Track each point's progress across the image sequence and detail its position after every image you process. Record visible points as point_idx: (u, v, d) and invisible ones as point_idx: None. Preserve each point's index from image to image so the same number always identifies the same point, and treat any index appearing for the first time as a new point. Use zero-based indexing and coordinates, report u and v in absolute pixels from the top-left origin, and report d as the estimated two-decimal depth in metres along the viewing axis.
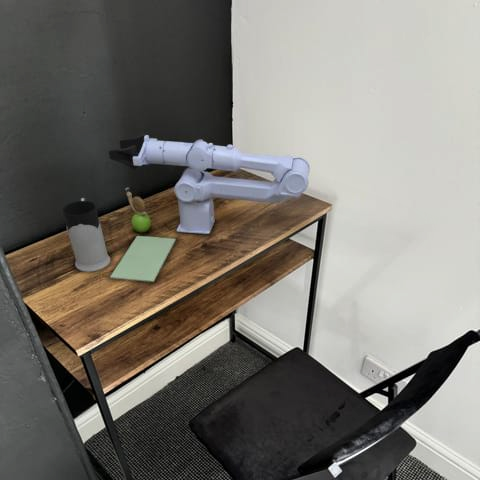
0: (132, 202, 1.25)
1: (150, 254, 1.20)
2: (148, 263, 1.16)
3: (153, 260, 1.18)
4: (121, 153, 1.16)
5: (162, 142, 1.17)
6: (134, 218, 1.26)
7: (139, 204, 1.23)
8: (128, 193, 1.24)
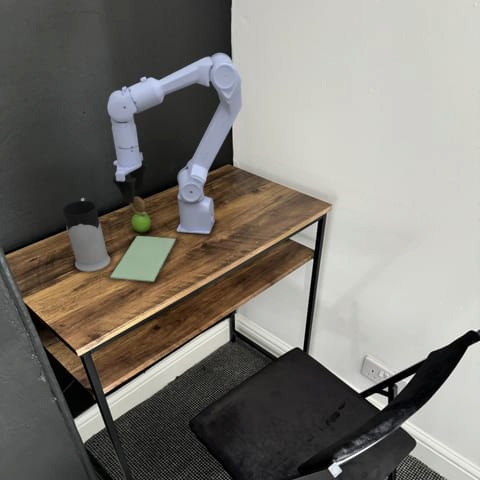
0: None
1: (150, 254, 1.20)
2: (148, 263, 1.16)
3: (153, 260, 1.18)
4: (124, 191, 1.18)
5: None
6: (134, 218, 1.26)
7: (139, 204, 1.23)
8: None
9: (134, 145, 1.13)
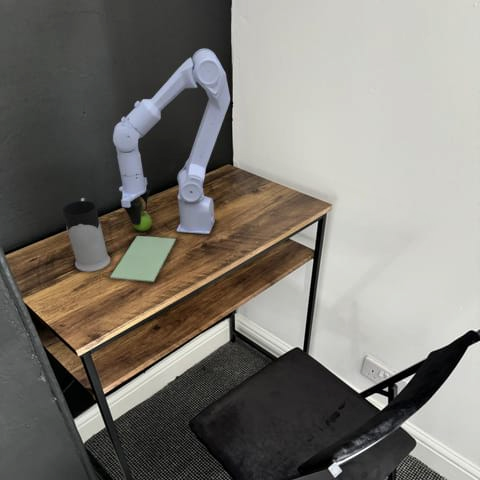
0: None
1: (150, 254, 1.20)
2: (148, 263, 1.16)
3: (153, 260, 1.18)
4: (131, 213, 1.23)
5: None
6: None
7: None
8: None
9: (139, 172, 1.17)
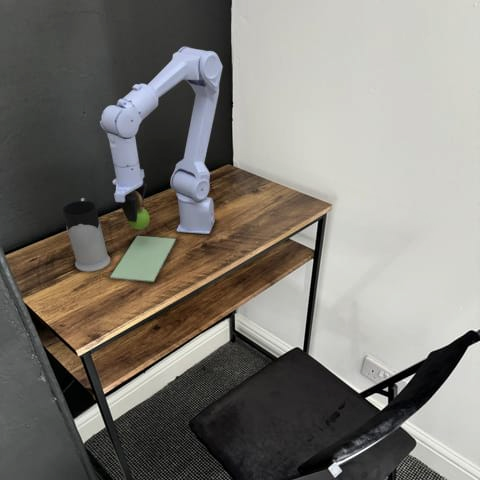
0: None
1: (150, 254, 1.20)
2: (148, 263, 1.16)
3: (153, 260, 1.18)
4: (126, 208, 1.10)
5: None
6: None
7: None
8: None
9: (138, 160, 1.05)
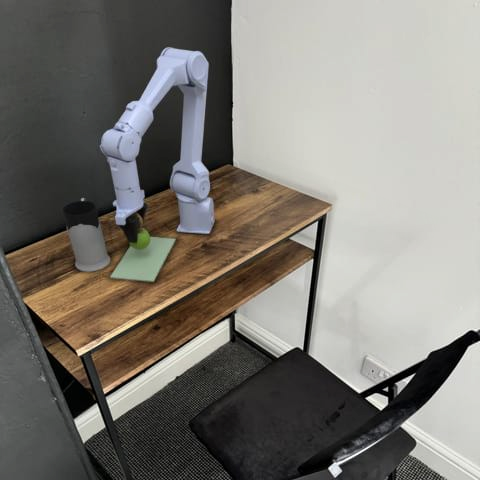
0: None
1: (150, 254, 1.20)
2: (148, 263, 1.16)
3: (153, 260, 1.18)
4: (127, 230, 1.10)
5: None
6: None
7: None
8: None
9: (138, 182, 1.05)
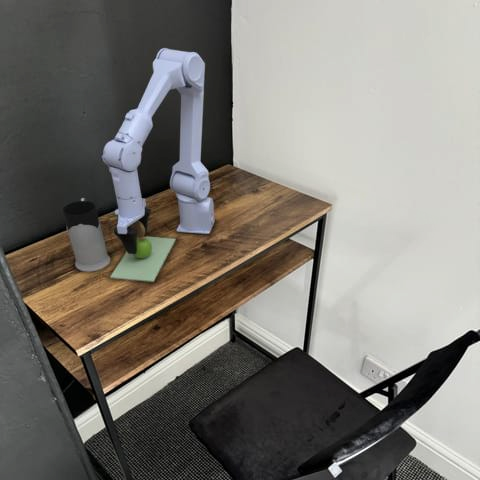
0: (131, 226, 1.14)
1: (150, 254, 1.20)
2: (148, 263, 1.16)
3: (153, 260, 1.18)
4: (126, 242, 1.10)
5: None
6: None
7: None
8: None
9: None
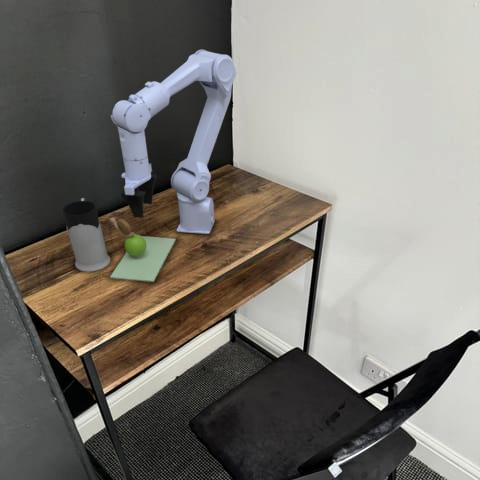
0: (118, 227, 1.14)
1: (150, 254, 1.20)
2: (148, 263, 1.16)
3: (153, 260, 1.18)
4: (133, 204, 1.12)
5: None
6: (125, 243, 1.15)
7: (123, 226, 1.12)
8: (111, 219, 1.14)
9: None
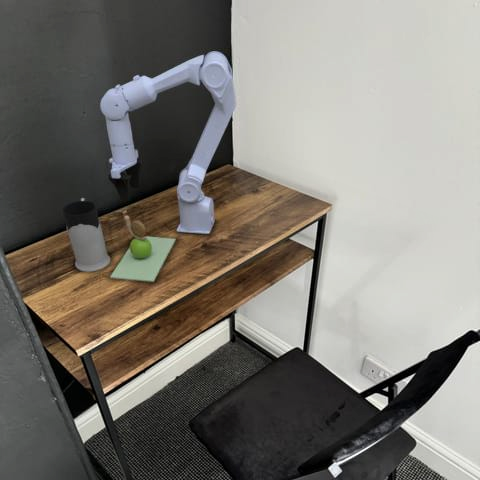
0: (131, 226, 1.13)
1: (150, 254, 1.20)
2: (148, 263, 1.16)
3: (153, 260, 1.18)
4: (120, 188, 1.19)
5: None
6: (133, 244, 1.15)
7: (139, 228, 1.12)
8: (126, 217, 1.13)
9: (128, 143, 1.14)
